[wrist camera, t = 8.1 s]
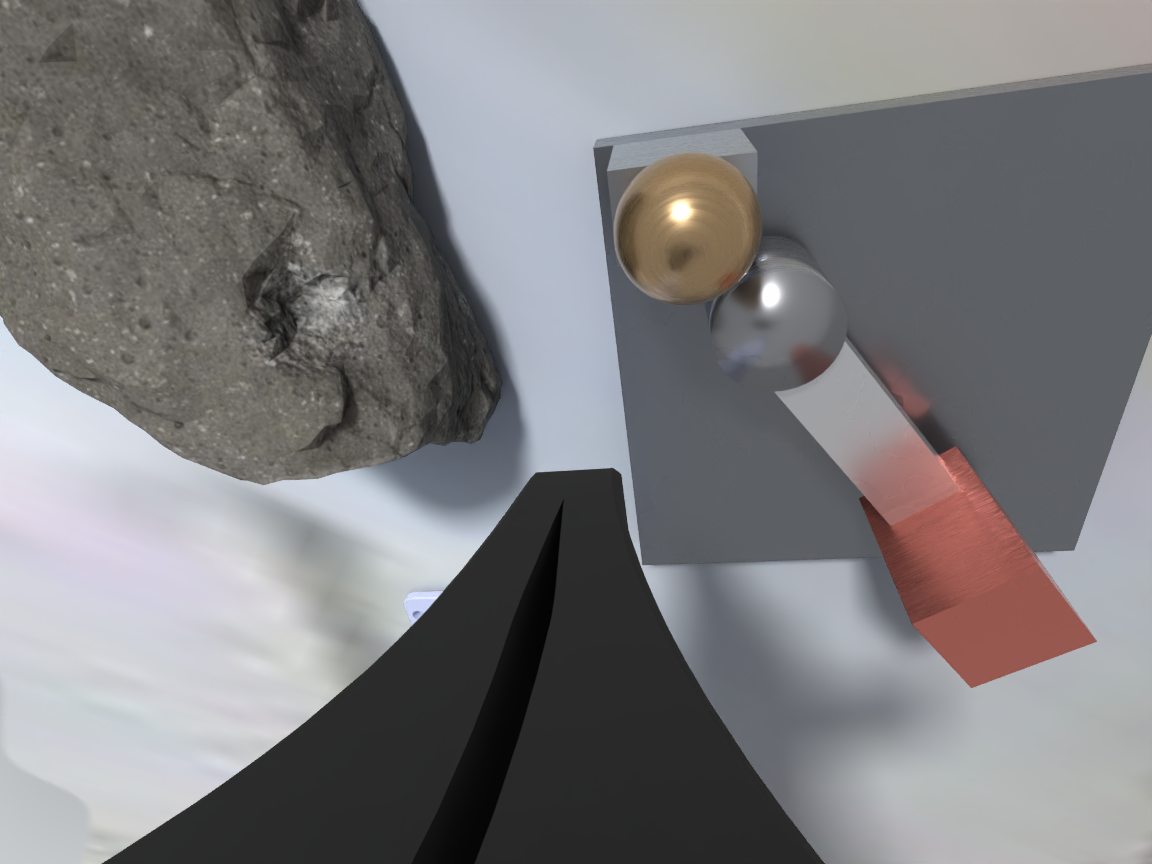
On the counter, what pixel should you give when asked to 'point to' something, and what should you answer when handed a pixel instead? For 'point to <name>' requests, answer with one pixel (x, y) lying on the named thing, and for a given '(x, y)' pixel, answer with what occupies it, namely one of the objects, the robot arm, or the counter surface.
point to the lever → (895, 473)
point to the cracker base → (887, 301)
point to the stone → (229, 234)
